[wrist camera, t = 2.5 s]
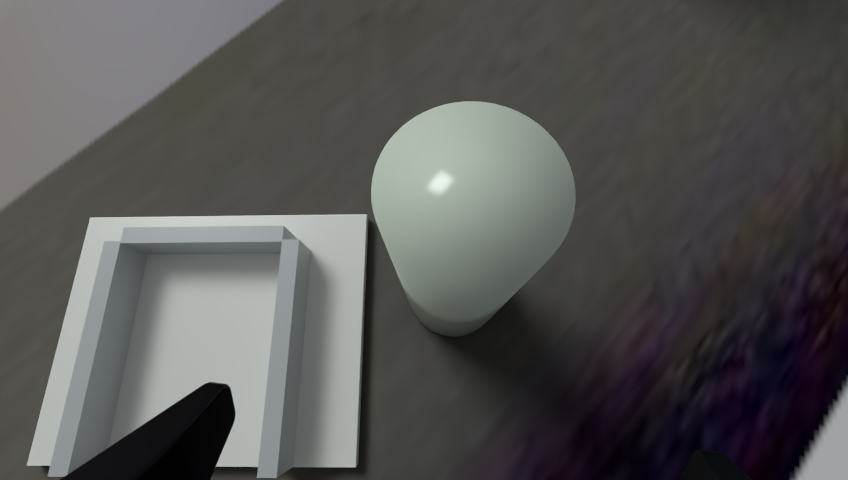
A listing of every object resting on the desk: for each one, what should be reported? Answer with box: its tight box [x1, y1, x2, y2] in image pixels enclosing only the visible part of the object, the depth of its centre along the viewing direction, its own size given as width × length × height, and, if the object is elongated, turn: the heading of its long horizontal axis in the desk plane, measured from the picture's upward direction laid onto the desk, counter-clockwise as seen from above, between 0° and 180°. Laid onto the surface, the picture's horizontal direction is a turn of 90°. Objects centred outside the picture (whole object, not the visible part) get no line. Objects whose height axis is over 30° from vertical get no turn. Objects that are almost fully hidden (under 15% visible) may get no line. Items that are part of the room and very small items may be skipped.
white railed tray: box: [27, 214, 368, 478], centre depth 20 cm, size 12×15×3 cm
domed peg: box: [371, 101, 576, 337], centre depth 15 cm, size 5×5×12 cm
